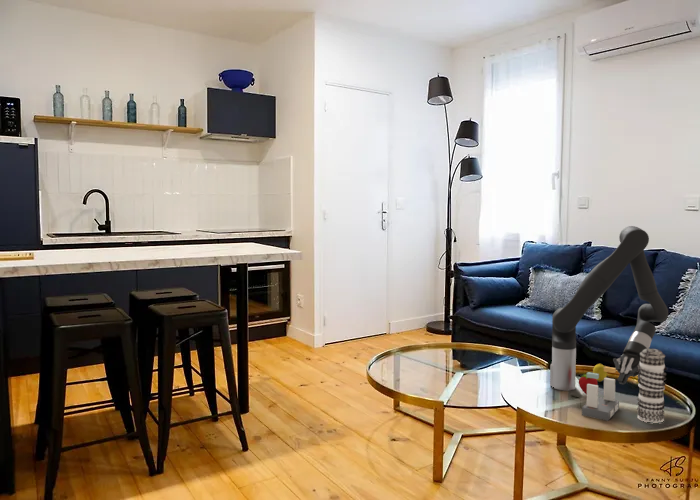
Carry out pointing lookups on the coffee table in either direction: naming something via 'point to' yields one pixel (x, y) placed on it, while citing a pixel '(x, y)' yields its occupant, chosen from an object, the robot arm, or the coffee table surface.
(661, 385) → the patterned cylindrical tower
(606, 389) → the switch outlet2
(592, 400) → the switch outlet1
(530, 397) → the coffee table surface
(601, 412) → the power strip
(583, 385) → the strawberry
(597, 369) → the lemon
